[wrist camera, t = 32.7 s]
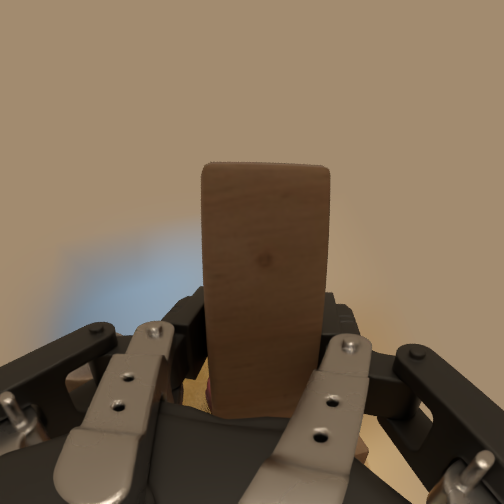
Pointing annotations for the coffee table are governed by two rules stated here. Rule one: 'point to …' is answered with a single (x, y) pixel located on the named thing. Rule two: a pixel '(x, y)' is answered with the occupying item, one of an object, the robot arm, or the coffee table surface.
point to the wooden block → (264, 284)
